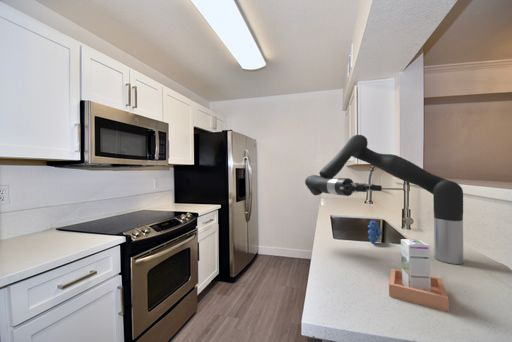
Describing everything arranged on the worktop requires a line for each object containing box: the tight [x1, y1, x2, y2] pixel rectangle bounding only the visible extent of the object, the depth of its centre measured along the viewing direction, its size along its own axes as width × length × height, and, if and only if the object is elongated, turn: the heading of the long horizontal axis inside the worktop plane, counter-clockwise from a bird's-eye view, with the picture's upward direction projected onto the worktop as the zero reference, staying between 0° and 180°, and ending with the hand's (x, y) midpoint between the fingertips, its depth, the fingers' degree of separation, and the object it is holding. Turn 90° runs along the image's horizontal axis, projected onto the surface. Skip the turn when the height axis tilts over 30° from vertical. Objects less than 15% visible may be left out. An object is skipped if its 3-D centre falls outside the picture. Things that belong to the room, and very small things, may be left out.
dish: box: [388, 268, 450, 313], centre depth 68 cm, size 13×13×4 cm
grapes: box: [367, 220, 383, 244], centre depth 116 cm, size 12×7×12 cm, turn 138°
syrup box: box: [400, 238, 431, 292], centre depth 68 cm, size 6×6×14 cm
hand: (373, 188), depth 84 cm, fingers open, 8 cm apart
